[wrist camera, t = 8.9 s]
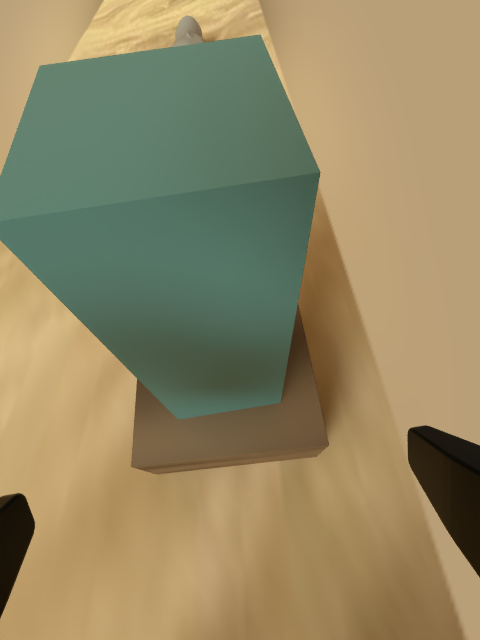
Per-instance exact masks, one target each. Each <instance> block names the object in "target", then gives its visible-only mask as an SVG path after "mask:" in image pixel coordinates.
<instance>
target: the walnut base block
mask: <svg viewBox="0 0 480 640" xmlns="http://www.w3.org/2000/svg"><path fill="white" fill-rule="evenodd" d="M328 446H329V442H328V438H327V433H326V429H325V424H324V419H323V415H322V410H321V406H320V401H319V397H318V392H317V388H316V383H315V379H314V374H313V370H312V365H311V360H310V356H309V351H308V347H307V342H306V338H305V333H304V329H303V324H302V320H301V315H300V311H299V306H298V305H297V310H296V316H295V322H294V328H293V334H292V339H291V345H290V351H289V357H288V363H287V368H286V374H285V380H284V386H283V391H282V397H281V403H276V404H270V405H264V406H258V407H252V408H246V409H240V410H234V411H228V412H222V413H216V414H210V415H204V416H198V417H192V418H186V419H180V420H178V419H177V418H176V417H175V416H174V415H173V414H172V413H171V412H170V411H169V410H168V409H167V408H166V407H165V406H164V405H163V404H162V403H161V402H160V401H159V400H158V399H157V398H156V397H155V396H154V395H153V394H152V393H151V392H150V391H149V390H148V389H147V388H146V387H145V386H144V385H143V384H142V383H141V382H140V381H139V380H138V379H137V390H136V404H135V419H134V434H133V448H132V463H131V467H133V468H137V469H140V470H144V471H147V472H151V473H154V474H163V473H172V472H181V471H190V470H199V469H208V468H217V467H227V466H236V465H245V464H254V463H263V462H272V461H281V460H290V459H299V458H308V457H317V456H318V455H319V454H320V453H321V452H322V451H323V450H324V449H325V448H326V447H328Z"/></svg>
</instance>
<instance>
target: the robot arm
mask: <svg viewBox="0 0 480 640" xmlns="http://www.w3.org/2000/svg"><path fill="white" fill-rule="evenodd" d="M408 461H409V464H410V467H411V469H412V471H413V473H414V474H415V476H416V478H417V480H418V481H419V483H420V485H421V486H422V488H423V490H424V492H425V493H426V495H427V497H428V498H429V500H430V502H431V504H432V505H433V507H434V509H435V511H436V512H437V514H438V516H439V517H440V519H441V521H442V523H443V524H444V526H445V528H446V529H447V531H448V532H449V534H450V535H451V537H452V538H453V540H454V542H455V543H456V544H457V546H458V547H459V549H460V550H461V552H462V553H463V554H464V556H465V557H466V559H467V560H468V561H469V563H470V564H471V566H472V567H473V569H474V570H475V571H476V573H477V574H478V576H479V577H480V446H479V445H477V444H474V443H471V442H469V441H467V440H464V439H461V438H459V437H456V436H453V435H451V434H448V433H446V432H443V431H440V430H438V429H435V428H433V427H430V426H419V427H413V428H410V429H409V430H408ZM34 529H35V521H34V518H33V516H32V513H31V510H30V508H29V505H28V502H27V500H26V497H25V496H24V495H23V494H21V493H17V494H11V495H5V496H2V497H0V618H1V616H2V613H3V611H4V608H5V606H6V604H7V601H8V599H9V596H10V594H11V591H12V588H13V586H14V583H15V581H16V578H17V575H18V573H19V570H20V568H21V565H22V562H23V560H24V557H25V555H26V552H27V549H28V547H29V544H30V542H31V539H32V537H33V534H34Z"/></svg>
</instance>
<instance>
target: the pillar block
mask: <svg viewBox="0 0 480 640" xmlns="http://www.w3.org/2000/svg"><path fill="white" fill-rule="evenodd" d="M319 177H320V170H319V168H318V166H317V164H316V161H315V159H314V157H313V155H312V152H311V150H310V147H309V145H308V143H307V141H306V138H305V136H304V134H303V131H302V129H301V127H300V124H299V122H298V120H297V118H296V115H295V113H294V111H293V108H292V106H291V104H290V101H289V99H288V97H287V95H286V92H285V90H284V88H283V85H282V83H281V81H280V79H279V76H278V74H277V72H276V69H275V67H274V65H273V62H272V60H271V58H270V56H269V53H268V51H267V49H266V46H265V44H264V42H263V39H262V37H261V35H254V36H247V37H240V38H233V39H226V40H219V41H212V42H205V43H198V44H191V45H183V46H176V47H169V48H162V49H155V50H148V51H141V52H134V53H127V54H120V55H113V56H106V57H99V58H92V59H85V60H78V61H70V62H64V63H56V64H49V65H42V66H40V67H39V69H38V72H37V75H36V78H35V81H34V83H33V87H32V89H31V92H30V95H29V97H28V100H27V103H26V106H25V109H24V111H23V115H22V117H21V120H20V123H19V126H18V128H17V131H16V134H15V137H14V140H13V142H12V145H11V148H10V151H9V154H8V157H7V159H6V162H5V165H4V168H3V170H2V173H1V176H0V240H1V241H2V242H3V243H4V244H5V245H6V246H7V247H8V248H9V249H10V250H11V251H12V252H13V253H14V254H15V255H16V256H17V257H18V258H19V259H20V260H21V261H22V262H23V263H24V264H25V265H26V267H27V268H28V269H29V270H30V271H31V272H32V273H33V274H34V275H35V276H36V277H37V278H38V279H39V280H40V281H41V282H42V283H43V284H44V285H45V286H46V287H47V288H48V289H49V290H50V291H51V292H52V293H53V294H54V295H55V296H56V297H57V298H58V299H59V300H60V301H61V302H62V303H63V304H64V305H65V306H66V307H67V308H68V309H69V310H70V311H71V312H72V313H73V314H74V315H75V316H76V317H77V318H78V319H79V320H80V321H81V322H82V323H83V324H84V325H85V326H86V327H87V328H88V329H89V330H90V331H91V332H92V333H93V334H94V335H95V336H96V337H97V338H98V339H99V340H100V341H101V342H102V343H103V344H104V345H105V346H106V347H107V348H108V349H109V350H110V351H111V352H112V353H113V354H114V355H115V356H116V357H117V358H118V359H119V360H120V361H121V362H122V363H123V364H124V366H125V367H126V368H127V369H128V370H129V371H130V372H131V373H132V374H133V375H134V376H135V377H136V378H137V379H138V380H139V381H140V382H141V383H142V384H143V385H144V386H145V387H146V388H147V389H148V390H149V391H150V392H151V393H152V394H153V395H154V396H155V397H156V398H157V399H158V400H159V401H160V402H161V403H162V404H163V405H164V406H165V407H166V408H167V409H168V410H169V411H170V412H171V413H172V414H173V415H174V416H175V417H176V418H177V419H178V420H180V419H186V418H192V417H198V416H204V415H210V414H216V413H222V412H228V411H234V410H240V409H246V408H252V407H258V406H264V405H270V404H276V403H281V397H282V391H283V386H284V380H285V374H286V368H287V363H288V357H289V351H290V345H291V339H292V334H293V328H294V322H295V316H296V310H297V305H298V299H299V293H300V287H301V281H302V276H303V270H304V264H305V258H306V253H307V247H308V241H309V235H310V229H311V224H312V218H313V212H314V206H315V200H316V195H317V189H318V183H319Z"/></svg>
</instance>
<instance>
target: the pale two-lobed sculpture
mask: <svg viewBox="0 0 480 640" xmlns="http://www.w3.org/2000/svg"><path fill="white" fill-rule="evenodd" d="M198 43H205V40H204V39H203V38H202V31H201V28H200V26H199V24H198V23H197V21H196V20H195V19H194V18H193V17H191V16H185V17H183V18H182V19H181V20H180V22H179V24H178V26H177V29H176V41H175V42H174V44H173V45H172V47H176V46H183V45H191V44H198Z"/></svg>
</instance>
